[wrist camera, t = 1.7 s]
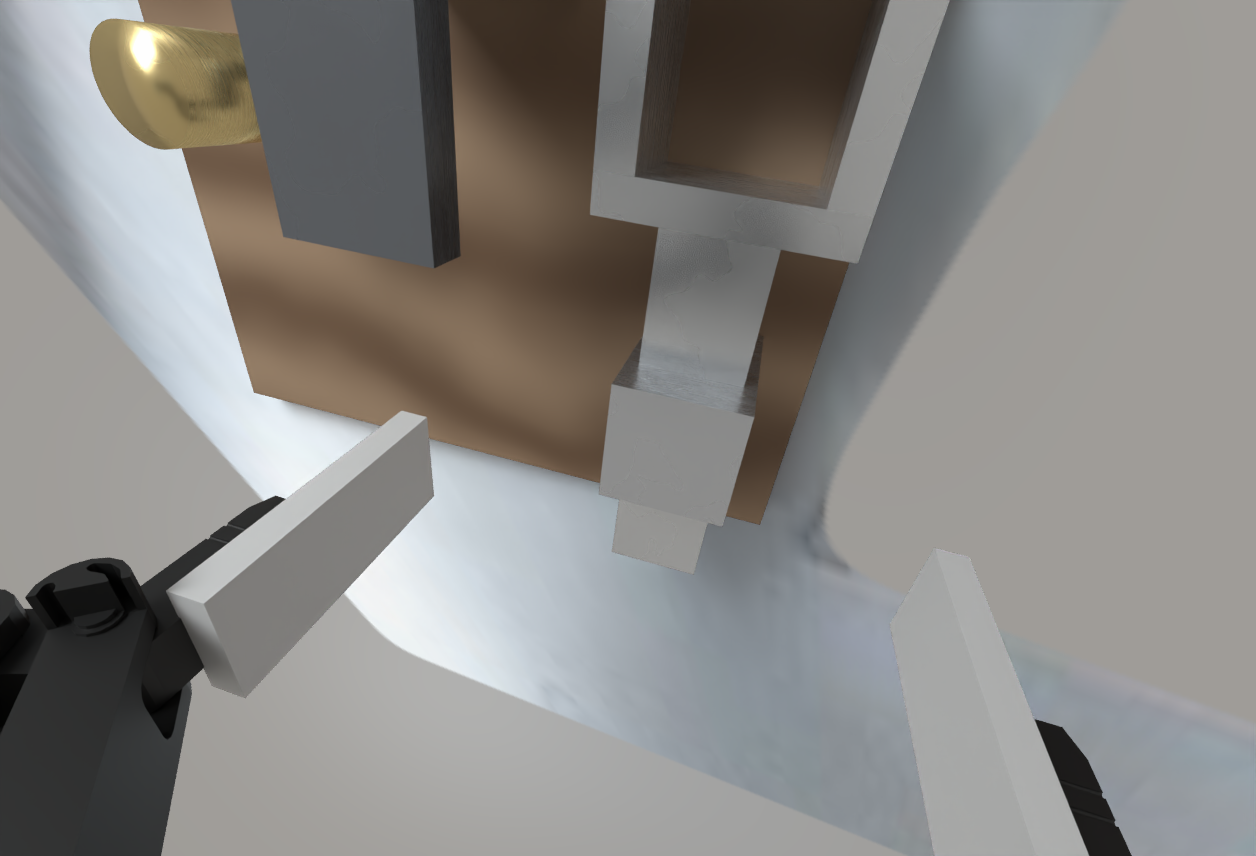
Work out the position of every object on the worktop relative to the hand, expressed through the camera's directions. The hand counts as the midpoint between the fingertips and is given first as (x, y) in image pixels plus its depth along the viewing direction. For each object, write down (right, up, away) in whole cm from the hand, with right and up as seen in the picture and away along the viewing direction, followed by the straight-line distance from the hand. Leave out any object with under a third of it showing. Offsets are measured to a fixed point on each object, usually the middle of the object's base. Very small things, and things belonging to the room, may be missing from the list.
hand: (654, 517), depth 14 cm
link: (+2, +7, +5) cm, 9 cm away
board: (-6, +10, +7) cm, 14 cm away
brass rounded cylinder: (-11, +15, +6) cm, 19 cm away
